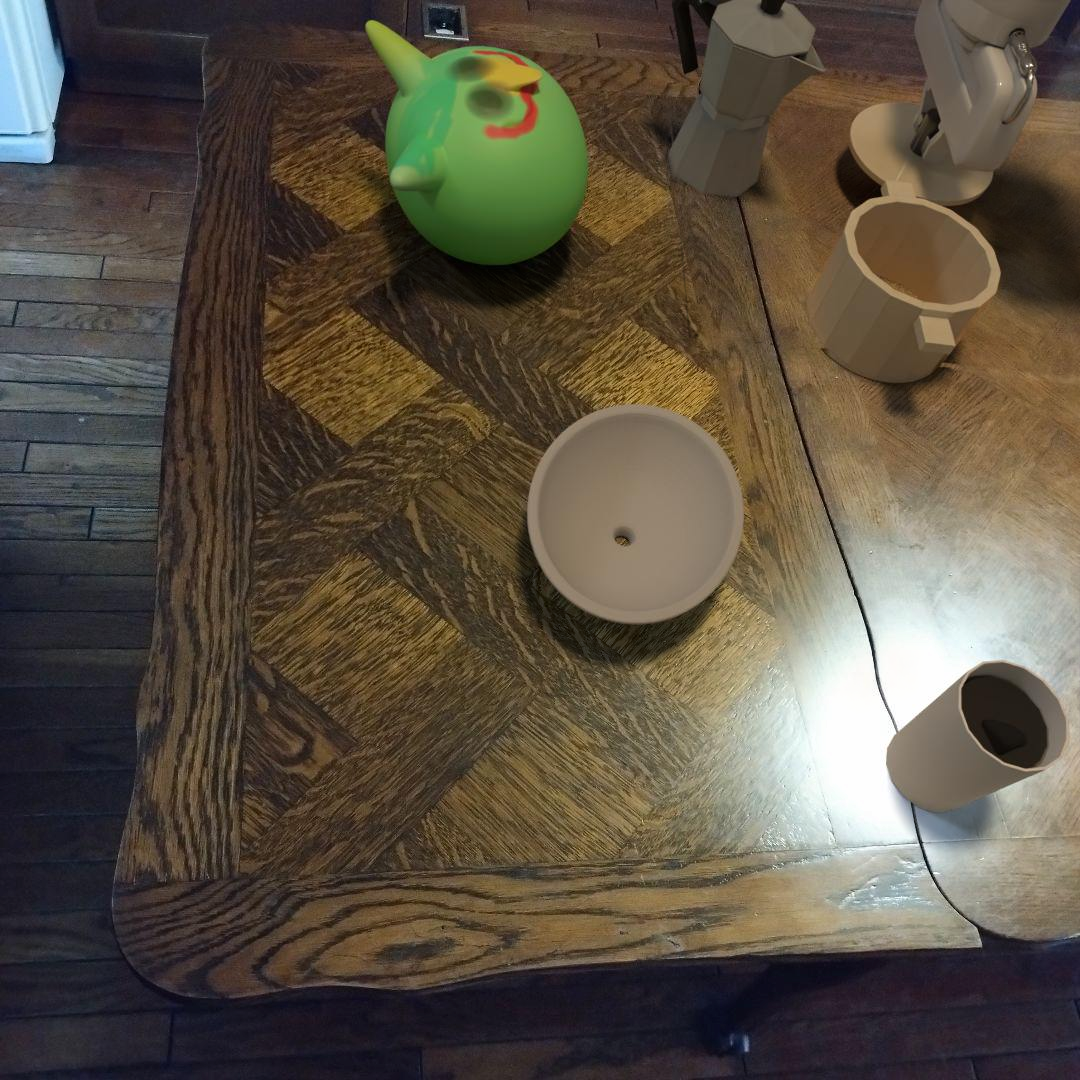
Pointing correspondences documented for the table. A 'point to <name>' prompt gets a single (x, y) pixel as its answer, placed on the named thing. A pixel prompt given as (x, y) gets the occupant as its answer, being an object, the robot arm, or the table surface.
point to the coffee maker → (737, 87)
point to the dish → (635, 514)
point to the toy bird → (481, 150)
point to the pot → (914, 262)
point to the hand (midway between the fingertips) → (925, 144)
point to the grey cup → (979, 737)
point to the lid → (910, 154)
